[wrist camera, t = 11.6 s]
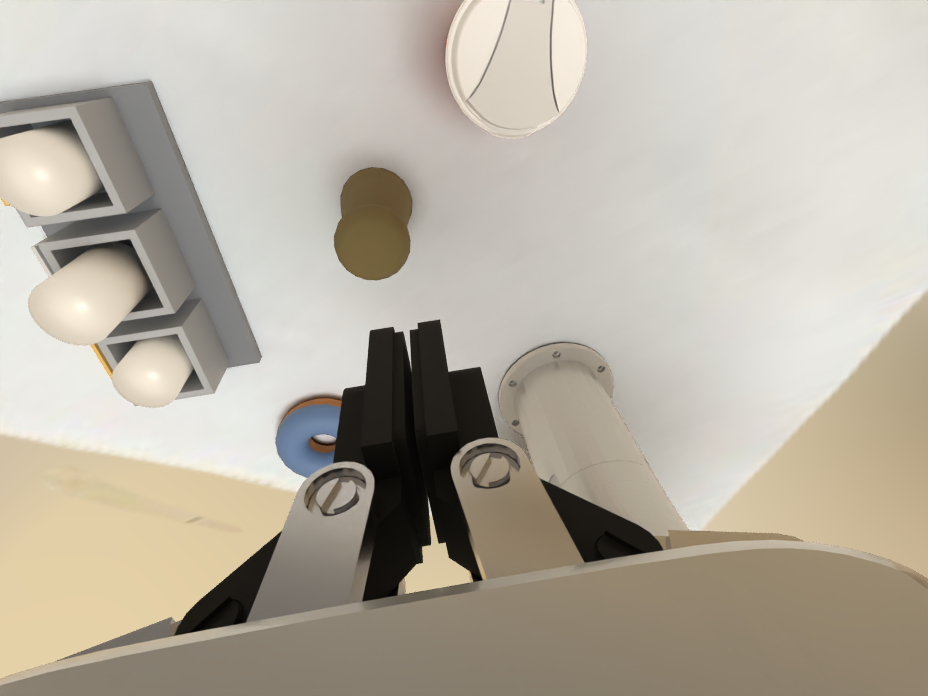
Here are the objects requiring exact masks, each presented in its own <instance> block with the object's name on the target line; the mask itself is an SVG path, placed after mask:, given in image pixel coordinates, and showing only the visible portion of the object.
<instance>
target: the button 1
mask: <svg viewBox="0 0 928 696" xmlns="http://www.w3.org/2000/svg"><path fill="white" fill-rule="evenodd" d="M104 189H105V187H104V185H103V183H102V181H101V179H100V177H99V175H98V173H97V171H96V169H95V167H94V165H93V163H92V161H91V159H90V157H89V155H88V153H87V151H86V149H85V147H84V145H83V143H82V141H81V139H80V137H79V135H78V133H77V131H76V129H75V127H74V125H73V123H72V121H71V120H67V121H63V122H59V123H55V124H52V125H48V126H44V127H40V128H37V129H33V130H29V131H26V132H22V133H18V134H15V135H11V136H7V137H3V138H0V198H1V199H3V200H4V201H5V202H6V203H8V204H9V205H11V206H12V207H14V208H16V209H17V210H20V211H22V212H24V213H27V214H30V215H34V216H43V217H46V216H53V215H57V214H59V213H61V212H63V211H65V210H67V209H69V208H71V207H72V206H74V205H76V204H78V203H80V202H82V201H83V200H85V199H87V198H89V197H91V196H93V195H94V194H96V193H98V192H100V191H102V190H104Z"/></svg>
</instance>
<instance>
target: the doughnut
mask: <svg viewBox="0 0 928 696" xmlns="http://www.w3.org/2000/svg"><path fill="white" fill-rule="evenodd" d="M341 403H342V401H341V400H336V399H331V398H323V399H313V400H310V401H307V402H303V403H301V404H299V405H298V406H296V407H295V408H293V409H292V410H290V411H289V412H288V413H287V415H286V416H285V417H284V419H283V420H282V421H281V423H280V426H279V427H278V431H277V435H276V447H277V452H278V455H279V457H280V458H281V459H282V461H283V462H284V464H285V465H286V466H287V467H288V468H290V469H291V470H292V471H293V472H295V473H297V474H299V475H301V476H304V477H306V478H308V477H309V476H310V475H312V474H313V473H315V472H316V471H318V470H319V469H321V468H323V467H325V466H328V465H331V464H333V459H334V452H335V445H336V444H335V445H332V446H324V445H320V444H317V443H315V442H314V441H313V440H312V439H311V437H313V436H315V435H319V434H327V435H331V436H334V437H336V438H337V431H338V424H339V417H340V410H341Z"/></svg>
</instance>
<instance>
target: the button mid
mask: <svg viewBox="0 0 928 696" xmlns="http://www.w3.org/2000/svg"><path fill="white" fill-rule="evenodd" d="M152 287H153V284H152V282H151V280H150V278H149V276H148V274H147V272H146V270H145V268H144V266H143V264H142V262H141V260H140V258H139V256H138V254H137V252H136V250H135V249H134V248H133V247H131V246H129V245H126V244H123V243H119V242H106V243H99V244H96V245H94V246H93V247H91V248H90V249H88V250H87V251H85V252H84V253H83V254H81V255H80V256H78V257H77V258H76V259H74V260H73V261H71V262H70V263H69V264H67V265H66V266H64V267H63V268H62V269H60V270H59V271H57V272H56V273H55V274H53V275H52V276H50V277H49V278H48V279H46V280H45V281H43V282H42V283H40V284H39V285H38V286H36V287H35V288H34V289H33V290H32V292H31V293H30V295H29V299H28V307H29V311H30V314H31V316H32V318H33V319H34V321H35V322H36V323H37V325H38V326H39V327H40V328H41V329H42V330H44V331H45V332H46V333H48V334H49V335H51V336H52V337H54V338H56V339H58V340H60V341H63V342H66V343H69V344H74V345H91V344H95V343H98V342H100V341H102V340H103V339H105V338H106V337H107V336H108V335H109V334H110V333H111V332H112V331H113V330H114V328H115V327H116V326H117V325H118V324H119V323H120V322H121V321H122V320H123V319H124V318H125V317H126V316H127V315H128V314H129V313H130V311H131V310H132V309H133V308H134V307H135V306H136V305H137V304H138V303H139V302H140V301H141V300H142V299H143V298H144V297H145V296H146V295H147V293H148V292H149V291H150V290H151V289H152Z"/></svg>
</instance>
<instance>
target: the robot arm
mask: <svg viewBox="0 0 928 696" xmlns="http://www.w3.org/2000/svg"><path fill="white" fill-rule="evenodd" d="M410 346H411V366H412V371H411V366H410V361H409V357H408V352H407V347H406V342H405V337H404V333H403V331H402V332H396V333H395V331H394V328H393V327H389V328H383V329H376V330H371V331H370V335H369V347H368V359H367V372H366V384H365V385H364V386H358V387H352V388H346V389H344V391H343V396H342V403H341V410H340V417H339V424H338V431H337V438H336V445H335V452H334V459H333V464H331V465H328V466H325V467H323V468H321V469H319V470H318V471H316V472H315V473H313V474H312V475H310V476H309V477H308V478H307V479H306V480H305V481H304V482H303V484H302V485H301V487H300V489H299V490H298V492H297V494H296V497H295V499H294V502H293V505H292V507H291V510H290V512H289V515H288V517H287V520H286V522H285V525H284V528H283V530H282V531H281V532H280V533H279V534H277V535H276V536H275V537H274V538H273V539H272V540H270V541H269V542H268V543H267V544H266V545H264V546H263V547H262V548H261V549H260V550H259V551H257V552H256V553H255V554H254V555H253V556H251V557H250V558H249V559H248V560H247V561H246V562H244V563H243V564H242V565H241V566H240V567H238V568H237V569H236V570H235V571H234V572H232V573H231V574H230V575H229V576H228V577H227V578H225V579H224V580H223V581H222V582H221V583H219V585H217V586H216V587H215V588H214V589H212V590H211V591H210V592H209V593H208V594H206V595H205V596H204V597H203V598H202V599H201V600H199V602H197V603H196V604H195V605H194V606H193V607H192V608H191V609H190V610H189V611H188V613H186V615H185V616H184V618H183V620H181V621H178V622H175V621H174V620H173V618H172V617H170V618H168V619H165V620H162V621H160V622H157V623H155V624H152V625H149V626H147V627H144V628H141V629H139V630H136V631H133V632H131V633H128V634H126V635H123V636H120V637H118V638H115V639H112V640H110V641H107V642H105V643H102V644H100V645H97V646H94V647H91V648H89V649H86V650H84V651H81V652H78V653H76V654H73V655H70V656H68V657H65V658H63V659H60V660H57V661H55V662H52V663H48V664H45V665H42V666H38V667H35V668H32V669H28V670H25V671H22V672H19V673H15V674H12V675H9V676H6V677H4V678H1V679H0V696H928V579H927V578H926V577H924V576H923V575H921V574H919V573H917V572H916V571H914V570H912V569H910V568H908V567H906V566H903V565H901V564H899V563H896V562H894V561H891V560H889V559H885V558H882V557H879V556H876V555H873V554H870V553H866V552H862V551H858V550H854V549H850V548H844V547H838V546H832V545H826V544H820V543H813V542H804V541H802V540H800V539H798V538H796V537H793V536H787V535H782V534H773V533H743V532H742V533H741V532H740V533H739V532H714V531H713V532H711V531H690V530H689V529H688V527H687V526H686V524H685V523H684V521H683V520H682V518H681V517H680V515H679V514H678V512H677V511H676V509H675V507H674V506H673V504H672V503H671V501H670V500H669V498H668V496H667V495H666V493H665V491H664V490H663V488H662V486H661V485H660V483H659V481H658V480H657V478H656V476H655V474H654V473H653V471H652V469H651V468H650V466H649V464H648V462H647V461H646V459H645V457H644V456H643V454H642V452H641V450H640V449H639V447H638V445H637V444H636V442H635V440H634V439H633V437H632V435H631V433H630V432H629V430H628V428H627V427H626V425H625V423H624V422H623V420H622V418H621V416H620V415H619V413H618V411H617V410H616V408H615V406H614V405H613V403H612V401H611V397H612V393H613V377H612V374H611V370H610V369H609V367H608V365H607V364H606V362H605V361H604V360H603V358H602V357H601V356H600V355H599V354H598V353H596V352H595V351H594V350H592V349H590V348H587V347H585V346H582V345H578V344H574V343H558V344H551V345H547V346H544V347H540V348H538V349H536V350H534V351H531V352H529V353H528V354H526V355H525V356H523V357H522V358H520V359H519V360H518V361H517V362H516V363H515V364H514V365H513V366H512V367H511V368H510V369H509V371H508V372H507V373H506V375H505V377H504V379H503V381H502V383H501V386H500V390H499V405H500V409H501V412H502V415H503V418H504V419H505V421H506V422H507V424H508V425H509V426H510V427H511V428H512V429H513V430H515V431H516V432H518V433H520V434H521V435H524V438H525V441H526V444H527V448H528V451H529V454H530V457H531V460H532V463H533V466H534V468H533V466H532V464H531V462H530V460H529V459H528V457H527V455H526V453H525V452H524V451H523V450H522V449H521V447H520V446H518V445H516V444H515V443H513V442H512V441H508V440H505V439H502V438H498V434H497V430H496V426H495V422H494V418H493V414H492V410H491V407H490V403H489V399H488V395H487V391H486V387H485V383H484V379H483V375H482V371H481V368H480V367H476V368H470V369H464V370H458V371H451V372H448V367H447V361H446V354H445V348H444V342H443V335H442V329H441V323H440V320H434V321H428V322H421V323H418V329H415V330H410ZM534 469H535V470H534ZM428 498H429V503H430V507H431V511H432V516H433V520H434V525H435V529H436V534H437V538H438V543H445V542H446V546H447V551H448V555H449V558H450V559H452V560H453V561H455V562H457V563H458V564H459V565H461V566H463V567H464V568H466V569H467V570H469V575H470V580H471V583H466V584H460V585H454V586H449V587H443V588H437V589H432V590H426V591H420V592H414V593H409V594H405V592H406V590H405V579H404V577H405V576H406V575H407V574H408V573H409V571H411V570H412V568H413V567H414V566H415V565H416V564H419V563H423V555H422V546H428V545H431V535H430V520H429V506H428Z"/></svg>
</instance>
